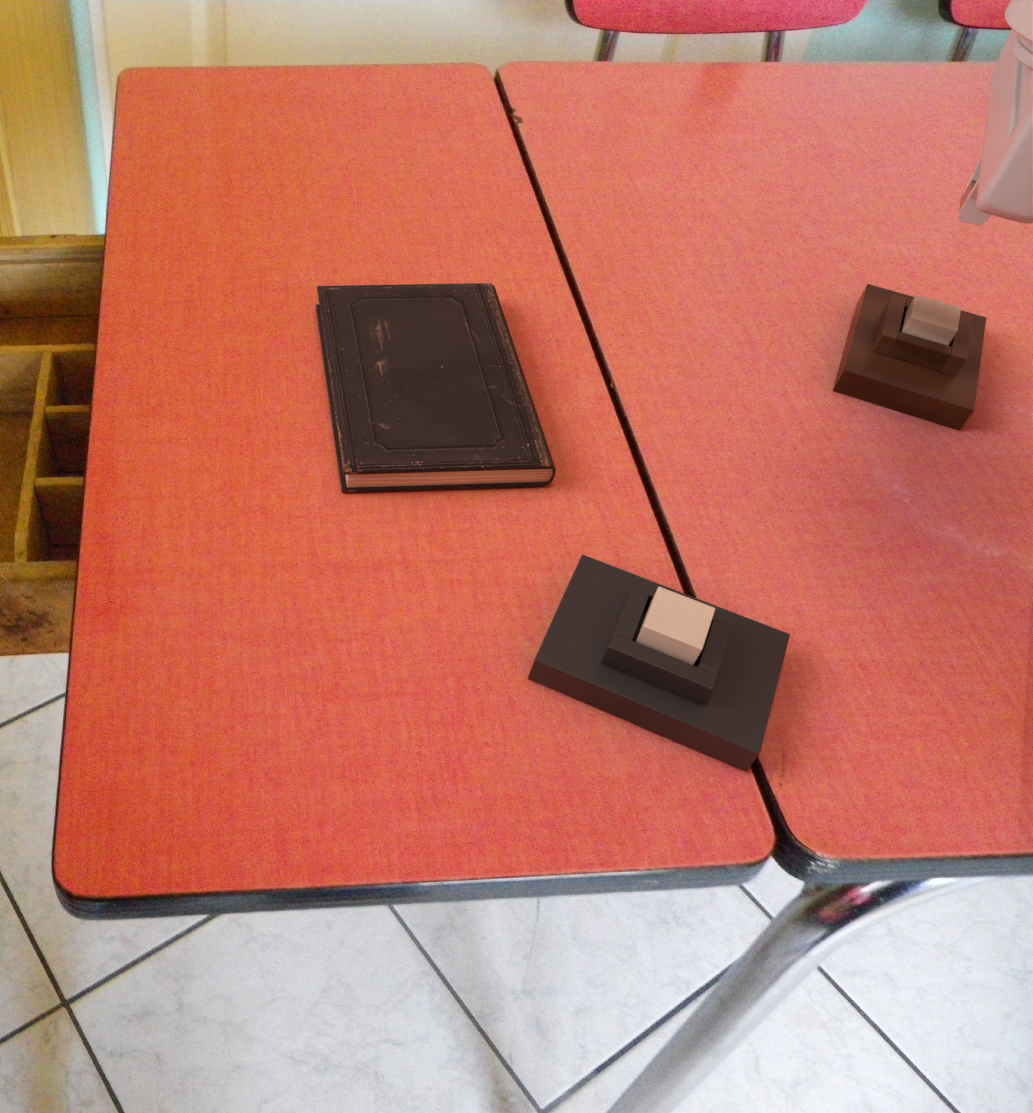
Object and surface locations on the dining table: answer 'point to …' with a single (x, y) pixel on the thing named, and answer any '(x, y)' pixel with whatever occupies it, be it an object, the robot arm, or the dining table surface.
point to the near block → (662, 666)
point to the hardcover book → (427, 390)
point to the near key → (676, 625)
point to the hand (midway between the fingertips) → (970, 213)
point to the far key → (931, 320)
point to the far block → (910, 362)
